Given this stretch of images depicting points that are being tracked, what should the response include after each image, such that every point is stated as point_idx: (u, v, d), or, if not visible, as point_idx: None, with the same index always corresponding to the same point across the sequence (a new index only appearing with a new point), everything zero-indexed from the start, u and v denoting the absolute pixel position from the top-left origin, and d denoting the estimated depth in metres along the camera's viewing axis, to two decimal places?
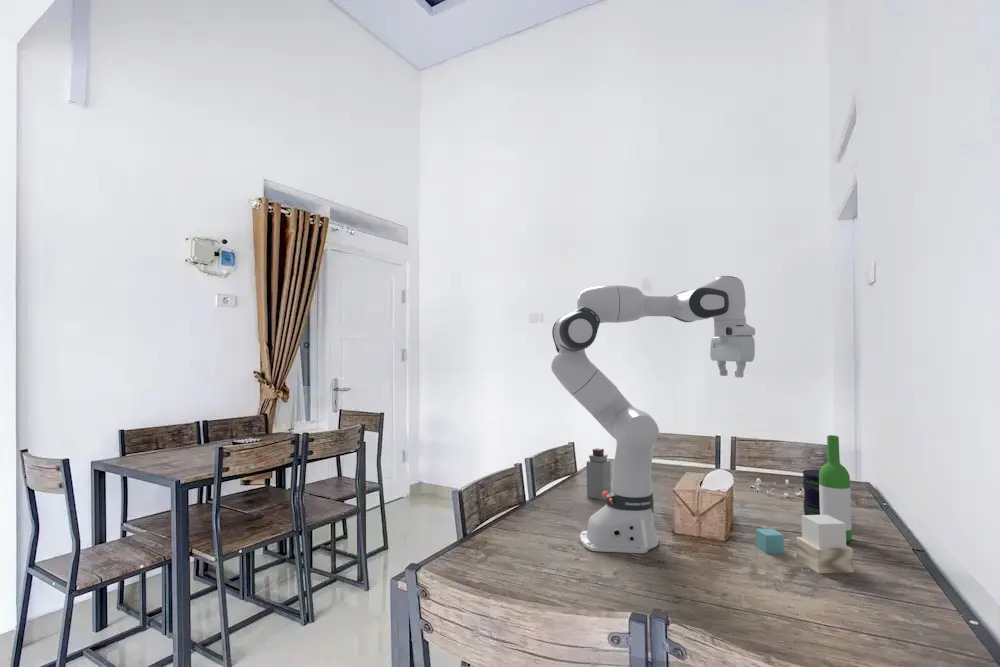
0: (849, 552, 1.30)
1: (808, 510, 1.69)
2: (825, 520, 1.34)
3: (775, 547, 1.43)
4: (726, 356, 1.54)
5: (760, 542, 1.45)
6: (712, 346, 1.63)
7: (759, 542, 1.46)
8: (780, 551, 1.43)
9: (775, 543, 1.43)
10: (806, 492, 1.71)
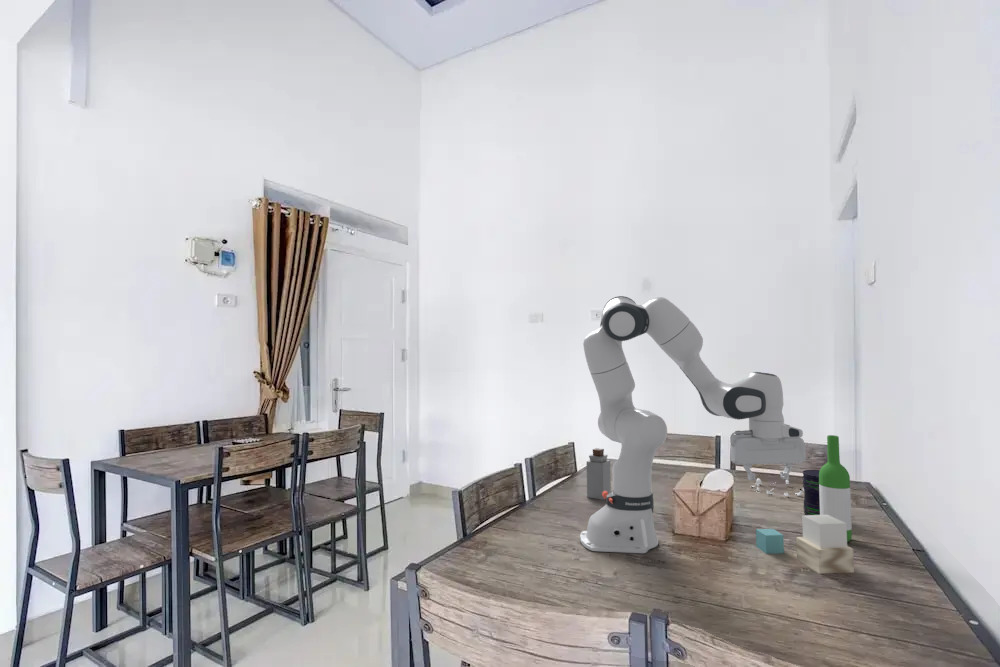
0: (849, 552, 1.30)
1: (808, 510, 1.69)
2: (826, 520, 1.34)
3: (775, 547, 1.43)
4: (775, 459, 1.44)
5: (760, 542, 1.45)
6: (742, 448, 1.44)
7: (759, 542, 1.46)
8: (780, 551, 1.43)
9: (775, 543, 1.43)
10: (806, 492, 1.71)
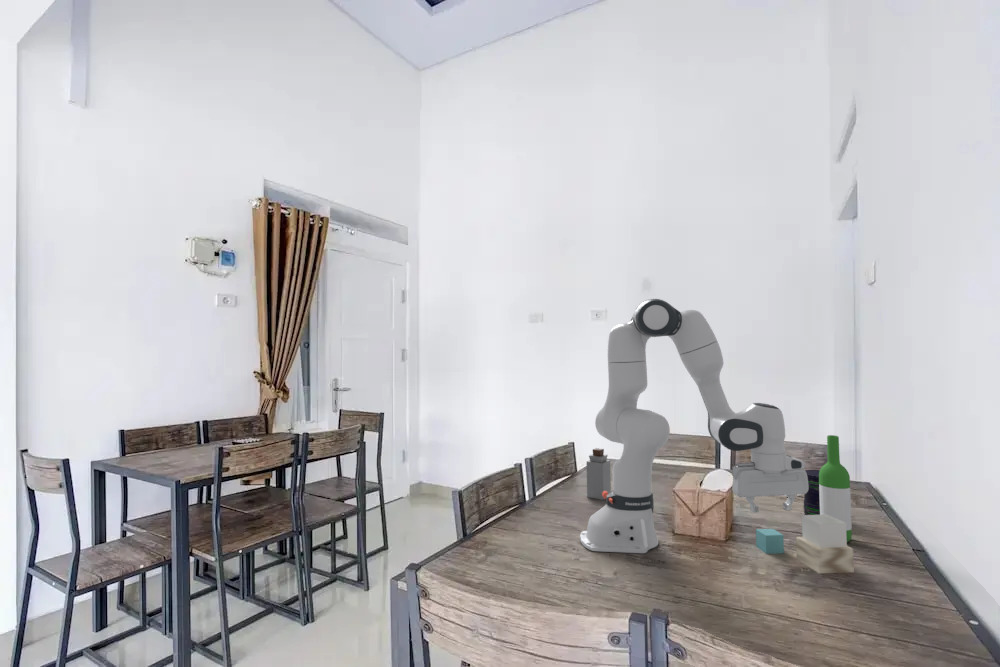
0: (849, 552, 1.30)
1: (808, 510, 1.69)
2: (826, 519, 1.34)
3: (775, 547, 1.43)
4: (777, 491, 1.44)
5: (760, 542, 1.45)
6: (744, 481, 1.43)
7: (759, 542, 1.46)
8: (780, 551, 1.43)
9: (775, 543, 1.43)
10: None
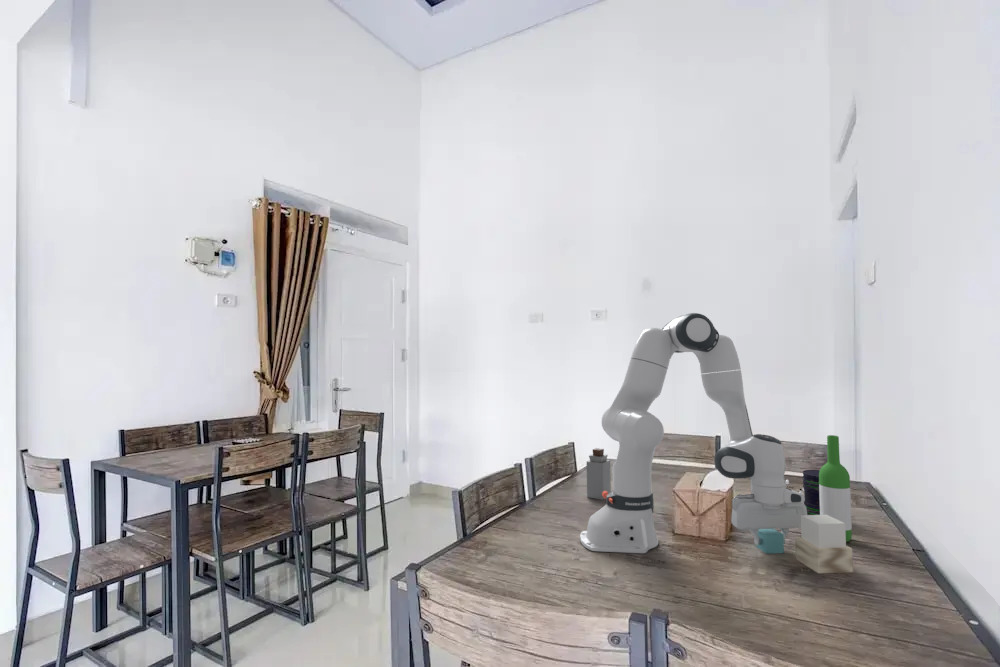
0: (848, 552, 1.30)
1: (808, 510, 1.69)
2: (825, 520, 1.34)
3: (775, 547, 1.43)
4: (776, 524, 1.43)
5: None
6: (744, 513, 1.43)
7: None
8: (780, 551, 1.43)
9: (775, 542, 1.43)
10: (806, 492, 1.71)
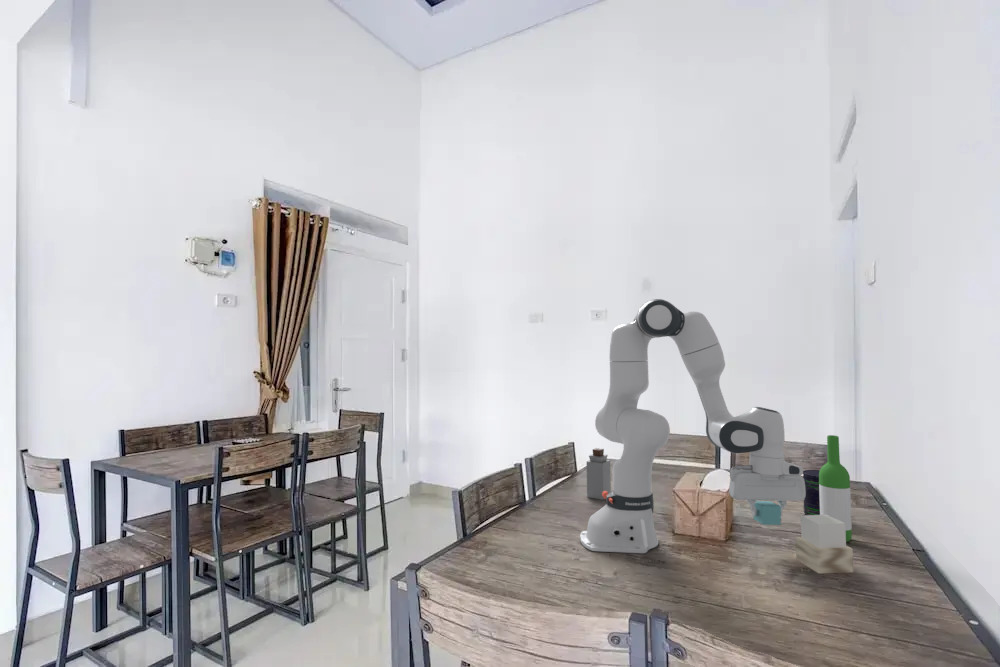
0: (849, 552, 1.30)
1: (808, 510, 1.69)
2: (825, 520, 1.34)
3: (772, 518, 1.42)
4: (774, 495, 1.43)
5: None
6: (741, 483, 1.43)
7: None
8: (777, 522, 1.42)
9: (772, 514, 1.42)
10: (806, 492, 1.71)
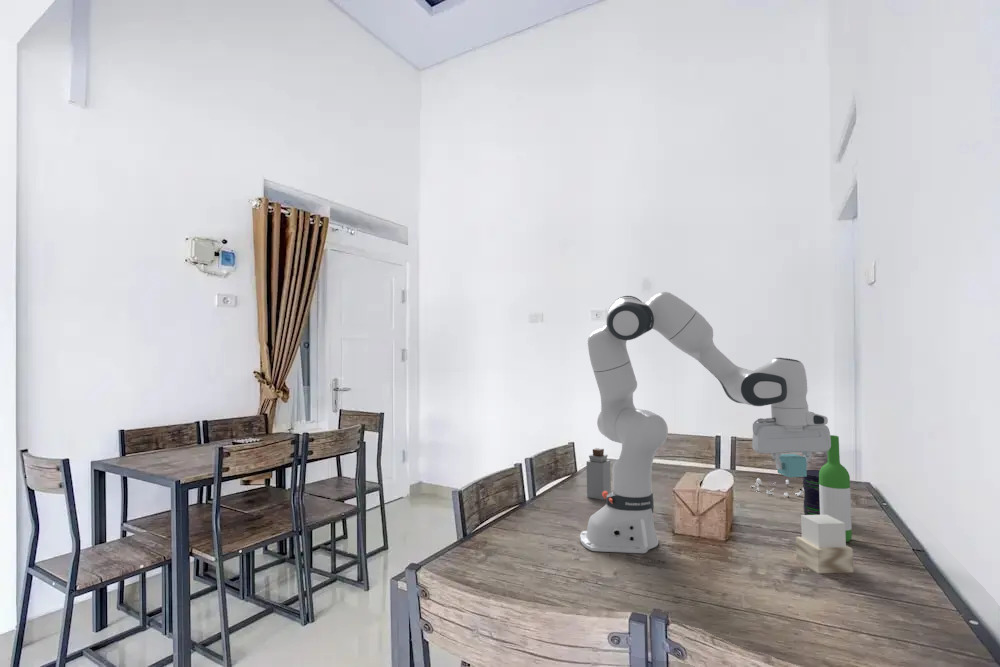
0: (849, 552, 1.30)
1: (808, 510, 1.69)
2: (825, 519, 1.34)
3: (798, 470, 1.38)
4: (799, 447, 1.39)
5: None
6: (765, 437, 1.39)
7: None
8: (803, 474, 1.38)
9: (798, 466, 1.38)
10: (806, 492, 1.71)
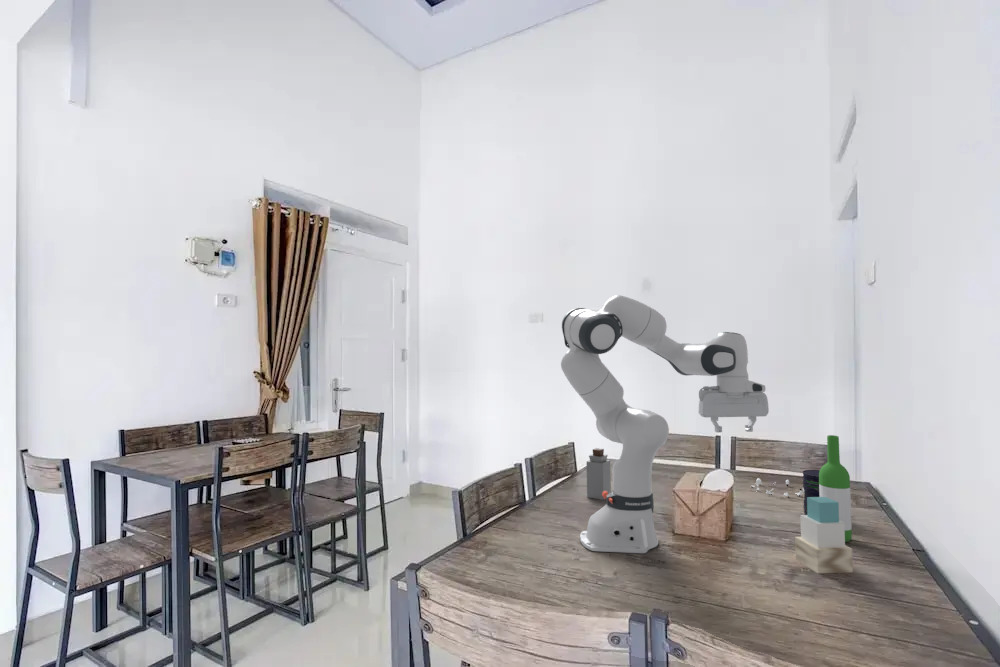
0: (848, 552, 1.30)
1: None
2: None
3: (830, 515, 1.32)
4: (740, 412, 1.55)
5: (812, 510, 1.35)
6: (709, 402, 1.55)
7: (811, 510, 1.35)
8: (835, 520, 1.32)
9: (830, 511, 1.32)
10: (806, 492, 1.71)
